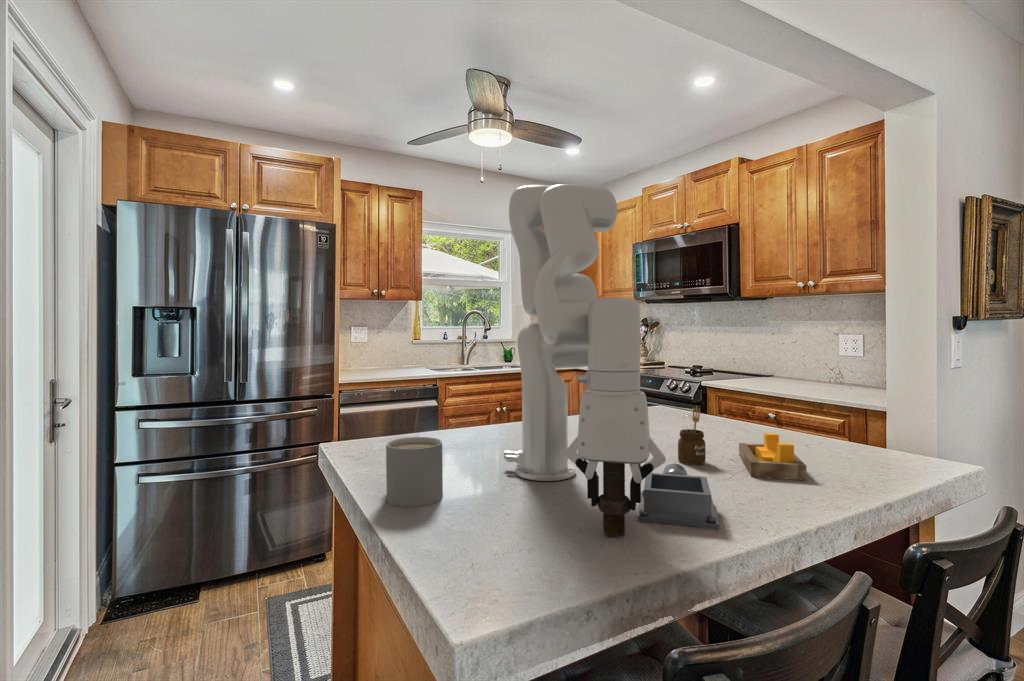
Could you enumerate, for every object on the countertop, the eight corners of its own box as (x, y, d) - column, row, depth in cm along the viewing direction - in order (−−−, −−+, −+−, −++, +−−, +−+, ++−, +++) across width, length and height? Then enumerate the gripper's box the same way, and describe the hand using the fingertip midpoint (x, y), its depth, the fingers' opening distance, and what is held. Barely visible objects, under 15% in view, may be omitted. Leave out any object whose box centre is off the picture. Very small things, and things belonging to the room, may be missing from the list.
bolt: (592, 526, 77) (592, 429, 77) (624, 525, 78) (624, 428, 77) (602, 542, 72) (602, 437, 71) (637, 541, 72) (637, 436, 72)
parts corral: (751, 476, 103) (751, 462, 103) (738, 455, 120) (738, 442, 120) (806, 480, 100) (806, 465, 100) (785, 458, 117) (785, 445, 117)
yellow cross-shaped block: (755, 460, 116) (755, 432, 116) (775, 461, 115) (776, 433, 115) (770, 475, 105) (771, 444, 104) (793, 476, 104) (793, 445, 104)
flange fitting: (637, 521, 79) (637, 490, 79) (642, 486, 97) (642, 461, 97) (719, 529, 76) (719, 497, 76) (708, 491, 94) (709, 465, 94)
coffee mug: (449, 502, 89) (449, 445, 89) (393, 510, 85) (392, 451, 85) (429, 481, 101) (428, 431, 101) (378, 488, 97) (377, 436, 97)
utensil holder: (673, 462, 114) (673, 409, 114) (684, 457, 119) (684, 406, 119) (699, 467, 110) (700, 412, 110) (709, 461, 115) (709, 408, 115)
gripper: (551, 383, 73) (552, 508, 73) (675, 386, 68) (675, 520, 68) (561, 378, 80) (562, 492, 81) (674, 381, 75) (674, 502, 76)
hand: (614, 504), depth 75 cm, fingers closed on bolt, 4 cm apart
